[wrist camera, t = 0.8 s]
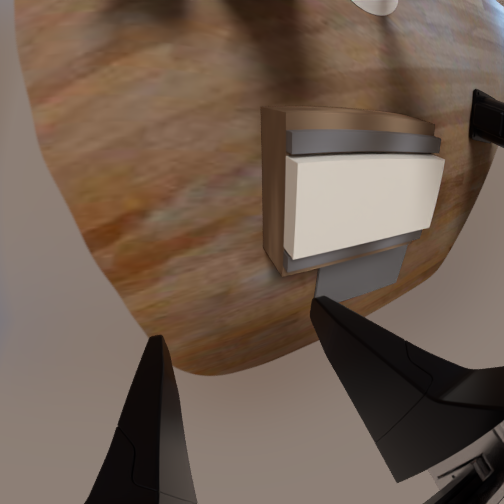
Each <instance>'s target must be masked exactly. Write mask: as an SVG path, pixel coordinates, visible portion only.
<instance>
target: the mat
mask: <svg viewBox="0 0 504 504" xmlns="http://www.w3.org/2000/svg"><path fill="white" fill-rule="evenodd" d="M407 246H408V244H407V245H403V246H400V247H396V248H393V249H389V250H385V251H382V252H378V253H374V254H371V255H367V256H363V257H360V258H356V259H352V260H348V261H344V262H340V263H337V264H333V265H329V266H325V267H321V268H318V274H317V281H316V288H315V295H314V297H317V296H321V295H325V296H327V297H329V298H331V299H332V300H334V301H336V302H341V301H344V300H347V299H351V298H353V297H356V296H359V295H362V294H365V293H368V292H371V291H374V290H377V289H379V288H382V287H385V286H388V285H390V284H393V283H396V280H397V277H398V274H399V271H400V268H401V265H402V262H403V259H404V256H405V252H406V249H407Z"/></svg>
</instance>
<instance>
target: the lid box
mask: <svg viewBox="0 0 504 504" xmlns="http://www.w3.org/2000/svg"><path fill="white" fill-rule="evenodd" d="M434 130H435V124H433V123H430V122H426V121H423V120H420V119H417V118H413V117H410V116H406V115H403V114H398V113H390V112H383V111H374V110H364V109H353V108H339V107H317V106H268V107H261V140H262V195H263V248H264V249H265V251H266V252H267V254H268V256H269V257H270V259H271V260H272V262H273V263H274V265H275V266H276V268H277V270H278V271H279V273H280V274H281V276H282V277H284V276H288V275H293V274H297V273H301V272H305V271H309V270H313V269H317V268H321V267H325V266H329V265H333V264H337V263H340V262H344V261H348V260H352V259H356V258H360V257H363V256H367V255H371V254H374V253H378V252H382V251H385V250H389V249H393V248H396V247H400V246H403V245H407V244H411V242H412V240H416V239H419V238H420V236H421V232H422V229H421V230H417V231H413V232H409V233H405V234H401V235H397V236H393V237H389V238H384V239H380V240H376V241H372V242H368V243H364V244H359V245H355V246H351V247H347V248H342V249H338V250H334V251H329V252H325V253H321V254H316V255H312V256H308V257H303V258H299V259H294V260H293V259H292V258H291V256H290V255H289V254H288V252H287V251H286V250H285V248H284V219H285V175H286V156H294V155H308V154H326V153H355V152H400V153H428V154H431V153H439V151H440V144H441V139H440V138H437V137H435V136H434Z"/></svg>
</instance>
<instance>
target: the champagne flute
mask: <svg viewBox="0 0 504 504" xmlns="http://www.w3.org/2000/svg"><path fill="white" fill-rule="evenodd" d="M352 1H353V2H354V3H355V4H356V5H357V6H359V7H360V8H361V9H363V10H365V11H367V12H369V13H371V14H374V15H379V16H384V15H388V14H391V13H392V12H393V11H394V10H395V9H396V7H397V4H398V0H352ZM496 1H497V2H499V3H500V4H501V5H502V6H504V0H496Z"/></svg>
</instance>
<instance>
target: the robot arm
mask: <svg viewBox="0 0 504 504" xmlns="http://www.w3.org/2000/svg"><path fill="white" fill-rule="evenodd" d="M470 138H471V139H473V140H478V141H482V142H486V143H491V142H492V143H494V144H496V145H498V146H500V147H503V148H504V103H503V102H500V101H497V100H495V98H493V97H491V96H489V95H487V94H486V93H484V92H482V91H480V90H478V89H475V90H474V100H473V112H472V121H471V130H470ZM310 318H311V321H312V324H313V326H314V328H315V331H316V333H317V335H318V338H319V340H320V342H321V345H322V347H323V350H324V352H325V354H326V356H327V358H328V360H329V362H330V363H331V365H332V367H333V369H334V370H335V372H336V374H337V376H338V377H339V379H340V381H341V383H342V384H343V386H344V388H345V390H346V391H347V393H348V395H349V397H350V399H351V400H352V402H353V404H354V406H355V408H356V409H357V411H358V413H359V415H360V417H361V418H362V420H363V422H364V424H365V426H366V427H367V429H368V431H369V433H370V435H371V436H372V438H373V440H374V442H376V443H375V444H376V446H377V448H378V449H379V451H380V453H381V455H382V457H383V458H384V460H385V462H386V464H387V466H388V468H389V469H390V471H391V473H392V475H393V477H394V479H395V480H396V482H397V483H399V482H401V481H403V480H406V479H408V478H410V477H412V476H415V475H417V474H419V473H421V472H423V471H425V470H428V471H429V473H430V474H431V476H432V477H433V479H434V481H435V483H436V485H437V486H438V488H439V490H440V491H439V492H437V493H436V494H435V495H434V496H432V497H431V498H430V499H429V500H427V501H426V502H425V503H423V504H499V502H500V501H501V500H502V499H503V498H504V366H503V367H495V368H486V369H468V368H464V367H461V366H459V365H457V364H454V363H452V362H450V361H447V360H445V359H443V358H440V357H438V356H435V355H433V354H431V353H429V352H427V351H425V350H423V349H421V348H419V347H417V346H415V345H413V344H412V343H410V342H408V341H405V340H404V339H402V338H401V337H399V336H397V335H395V334H393V333H392V332H390V331H388V330H386V329H384V328H383V327H381V326H379V325H377V324H375V323H373V322H372V321H370V320H368V319H366V318H365V317H363V316H361V315H359V314H358V313H356V312H354V311H352V310H350V309H349V308H347V307H345V306H343V305H341V304H340V303H338V302H336V301H334V300H332V299H331V298H329V297H327V296H325V295H321V296H317V297H314V298H313V299H312V304H311V310H310ZM84 504H197V499H196V494H195V490H194V485H193V480H192V475H191V470H190V464H189V460H188V453H187V448H186V441H185V434H184V428H183V421H182V413H181V406H180V398H179V393H178V388H177V384H176V380H175V375H174V371H173V367H172V362H171V357H170V353H169V350H168V347H167V345H166V343H165V340H164V338H163V336H162V335H155V336H151V337H150V338H149V340H148V342H147V345H146V347H145V350H144V353H143V355H142V358H141V361H140V363H139V365H138V368H137V371H136V374H135V376H134V379H133V382H132V384H131V387H130V390H129V393H128V395H127V398H126V401H125V404H124V407H123V410H122V413H121V416H120V418H119V421H118V427H116V430H115V434H114V437H113V439H112V442H111V445H110V448H109V451H108V453H107V456H106V458H105V460H104V463H103V465H102V467H101V469H100V472H99V474H98V476H97V479H96V481H95V483H94V485H93V488H92V490H91V493H90V495H89V497H88V498H87V500H86V502H85V503H84Z"/></svg>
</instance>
